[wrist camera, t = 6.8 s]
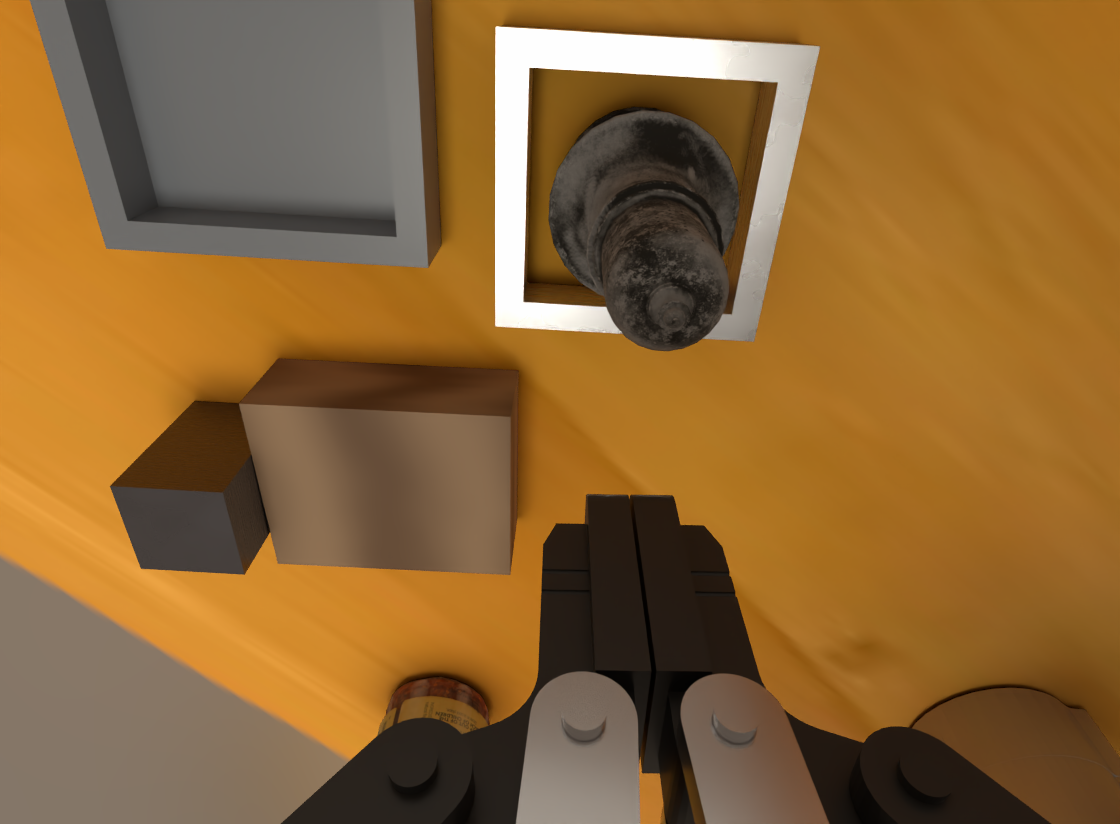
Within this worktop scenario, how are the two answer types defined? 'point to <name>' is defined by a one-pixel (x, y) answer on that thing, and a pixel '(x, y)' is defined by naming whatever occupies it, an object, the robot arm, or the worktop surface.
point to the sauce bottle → (437, 704)
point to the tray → (254, 125)
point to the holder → (531, 47)
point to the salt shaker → (648, 223)
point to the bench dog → (195, 495)
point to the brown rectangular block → (387, 464)
